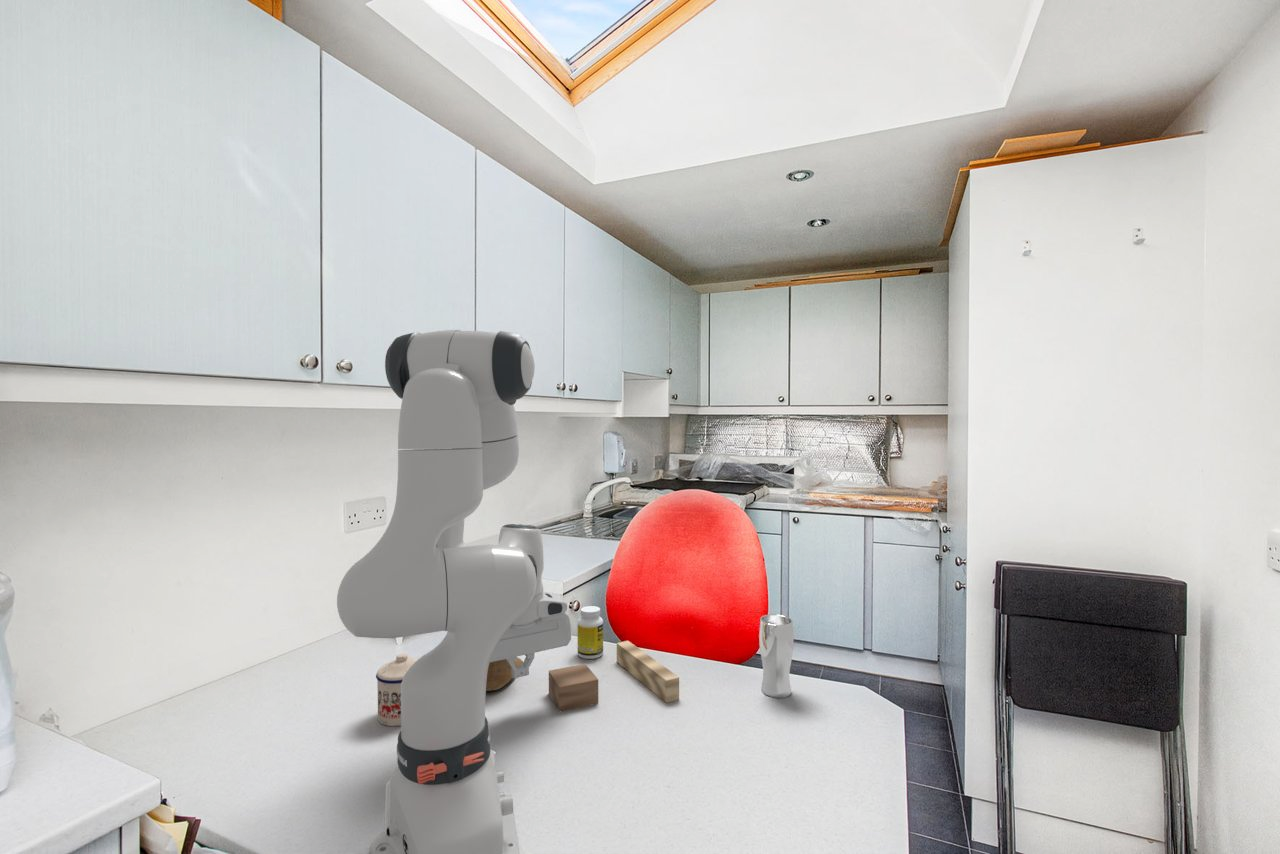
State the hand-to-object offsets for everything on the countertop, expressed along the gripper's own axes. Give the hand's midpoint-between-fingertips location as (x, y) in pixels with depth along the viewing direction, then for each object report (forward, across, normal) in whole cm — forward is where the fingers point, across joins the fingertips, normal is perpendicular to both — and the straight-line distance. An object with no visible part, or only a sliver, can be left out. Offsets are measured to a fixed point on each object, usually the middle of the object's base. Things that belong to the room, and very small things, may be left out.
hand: (520, 675), depth 113 cm
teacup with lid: (+7, -19, +8) cm, 22 cm away
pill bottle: (+8, +23, +16) cm, 29 cm away
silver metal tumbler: (+6, +48, -20) cm, 53 cm away
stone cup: (+7, 0, +15) cm, 17 cm away
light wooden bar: (+7, +28, -2) cm, 29 cm away
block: (+7, +11, -1) cm, 13 cm away
